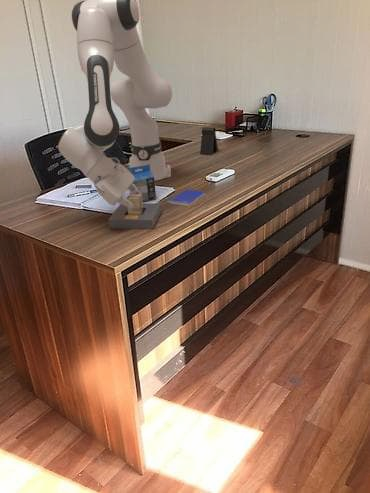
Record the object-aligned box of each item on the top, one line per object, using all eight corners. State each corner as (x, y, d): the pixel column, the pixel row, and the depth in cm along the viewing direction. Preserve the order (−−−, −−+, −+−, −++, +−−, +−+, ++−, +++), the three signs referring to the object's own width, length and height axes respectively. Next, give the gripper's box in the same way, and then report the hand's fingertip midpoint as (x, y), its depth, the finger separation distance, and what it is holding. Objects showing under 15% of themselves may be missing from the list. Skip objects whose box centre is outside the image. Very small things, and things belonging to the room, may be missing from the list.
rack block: (121, 211, 148) (120, 203, 146) (161, 211, 145) (160, 203, 144) (109, 228, 135) (108, 219, 134) (152, 228, 133) (151, 219, 132)
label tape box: (133, 204, 153) (129, 170, 148) (130, 200, 157) (126, 168, 151) (156, 199, 156) (153, 166, 151) (152, 196, 160) (149, 163, 154)
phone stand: (211, 155, 206) (210, 130, 201) (200, 154, 209) (199, 129, 203) (218, 150, 213) (217, 126, 208) (207, 149, 216) (206, 125, 210)
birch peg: (132, 217, 143) (129, 194, 139) (144, 217, 142) (141, 194, 138) (129, 222, 139) (126, 198, 135) (141, 222, 138) (138, 198, 135)
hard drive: (188, 203, 148) (204, 191, 158) (168, 200, 152) (185, 189, 162) (188, 207, 149) (204, 195, 159) (168, 204, 153) (185, 193, 162)
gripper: (97, 175, 124) (134, 207, 127) (117, 156, 142) (149, 184, 145) (85, 190, 127) (121, 220, 130) (106, 169, 145) (137, 196, 148)
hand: (136, 201), depth 137 cm, fingers open, 8 cm apart
